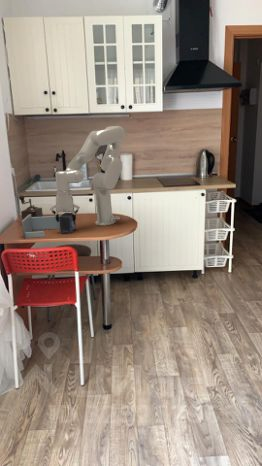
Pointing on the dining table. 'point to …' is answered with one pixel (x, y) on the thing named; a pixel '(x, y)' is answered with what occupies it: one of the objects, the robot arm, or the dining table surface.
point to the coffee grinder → (30, 209)
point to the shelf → (38, 225)
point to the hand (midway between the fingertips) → (66, 221)
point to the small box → (67, 223)
